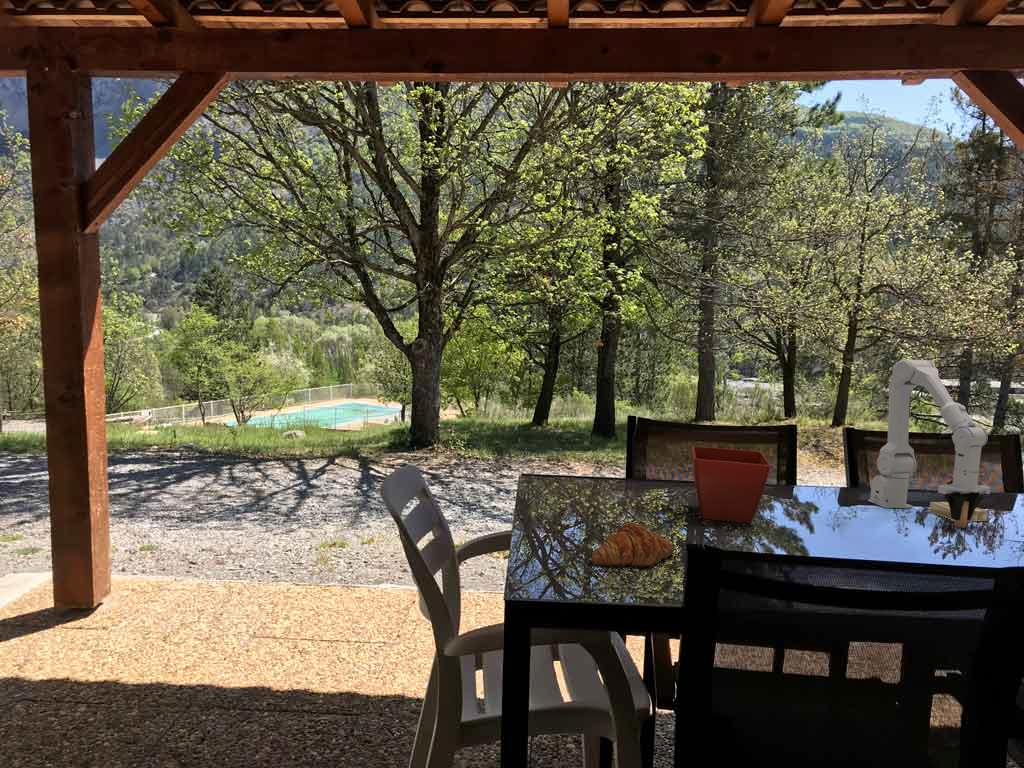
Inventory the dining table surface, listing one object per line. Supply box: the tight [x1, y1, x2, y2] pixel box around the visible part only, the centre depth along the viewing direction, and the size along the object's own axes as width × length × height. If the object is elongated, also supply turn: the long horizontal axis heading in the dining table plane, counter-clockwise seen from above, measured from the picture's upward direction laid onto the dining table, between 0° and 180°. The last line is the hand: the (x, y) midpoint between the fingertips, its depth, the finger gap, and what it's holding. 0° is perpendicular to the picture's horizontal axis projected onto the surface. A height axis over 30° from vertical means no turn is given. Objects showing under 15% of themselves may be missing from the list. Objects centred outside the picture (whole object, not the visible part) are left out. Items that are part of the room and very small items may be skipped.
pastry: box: [590, 522, 675, 568], centre depth 164 cm, size 17×15×8 cm
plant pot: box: [691, 445, 771, 524], centre depth 203 cm, size 19×19×17 cm
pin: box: [953, 501, 969, 529], centre depth 204 cm, size 3×3×7 cm
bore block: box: [928, 501, 989, 523], centre depth 214 cm, size 10×10×3 cm
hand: (960, 519), depth 204 cm, fingers open, 3 cm apart
